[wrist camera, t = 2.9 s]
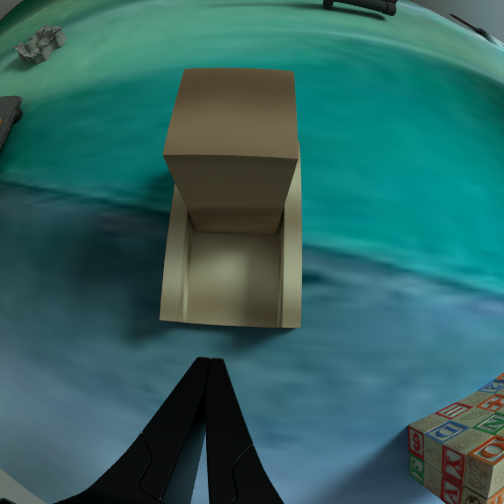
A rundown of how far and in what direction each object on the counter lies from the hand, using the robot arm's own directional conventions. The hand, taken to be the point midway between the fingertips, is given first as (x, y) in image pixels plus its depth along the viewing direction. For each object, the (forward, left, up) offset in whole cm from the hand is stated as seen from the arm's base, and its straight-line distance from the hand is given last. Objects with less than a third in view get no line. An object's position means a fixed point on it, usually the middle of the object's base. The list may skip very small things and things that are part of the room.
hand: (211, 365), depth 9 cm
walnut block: (+9, +7, -12) cm, 17 cm away
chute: (+9, +7, -14) cm, 18 cm away
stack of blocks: (+10, -26, -14) cm, 31 cm away
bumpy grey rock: (+11, +55, -14) cm, 58 cm away
